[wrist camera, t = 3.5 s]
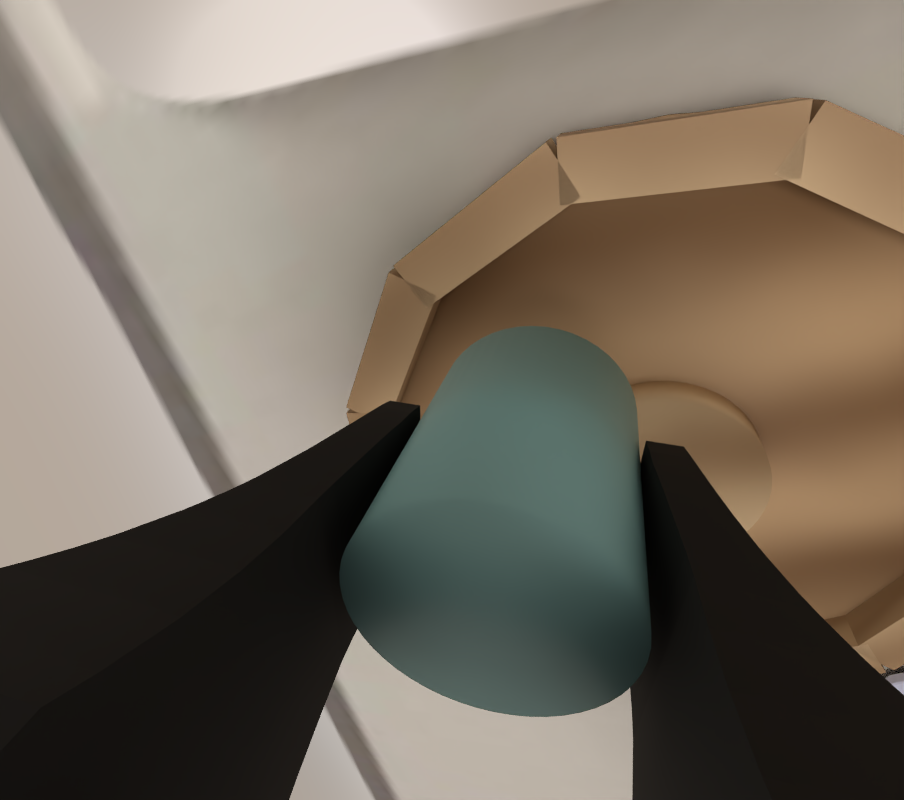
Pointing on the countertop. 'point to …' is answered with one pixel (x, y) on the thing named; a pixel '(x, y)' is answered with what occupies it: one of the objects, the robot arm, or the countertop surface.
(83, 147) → the countertop surface
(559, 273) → the tray
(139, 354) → the countertop surface
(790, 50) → the countertop surface
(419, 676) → the bead teal
